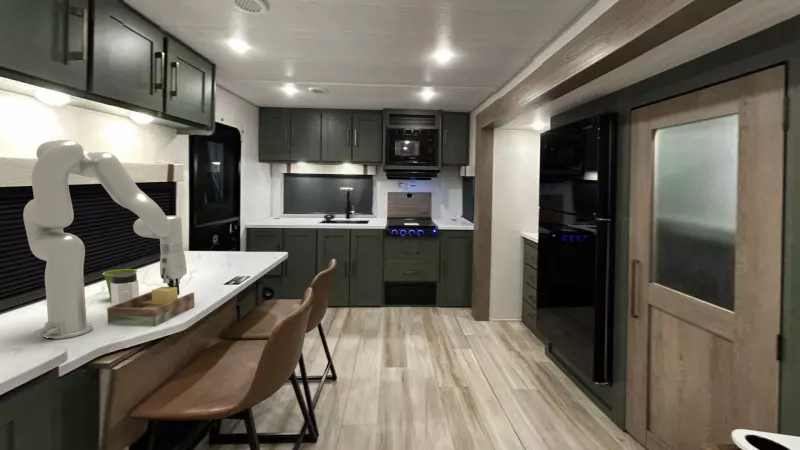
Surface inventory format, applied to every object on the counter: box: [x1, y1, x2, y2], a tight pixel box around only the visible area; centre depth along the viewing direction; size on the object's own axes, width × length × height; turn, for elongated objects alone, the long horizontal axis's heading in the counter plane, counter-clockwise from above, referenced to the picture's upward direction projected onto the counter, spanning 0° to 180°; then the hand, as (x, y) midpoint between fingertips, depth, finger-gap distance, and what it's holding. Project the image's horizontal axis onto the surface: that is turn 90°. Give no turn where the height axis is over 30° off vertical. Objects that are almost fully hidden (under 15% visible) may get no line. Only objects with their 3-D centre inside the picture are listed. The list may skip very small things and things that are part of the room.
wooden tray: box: [106, 291, 195, 327], centre depth 154 cm, size 22×17×6 cm
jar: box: [110, 272, 140, 306], centre depth 165 cm, size 9×8×12 cm
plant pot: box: [102, 268, 138, 300], centre depth 174 cm, size 12×12×11 cm
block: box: [151, 286, 179, 304], centre depth 160 cm, size 6×6×5 cm
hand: (174, 295), depth 166 cm, fingers closed
